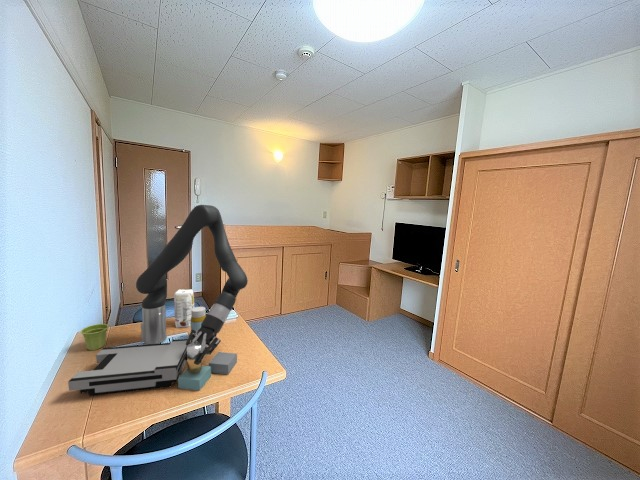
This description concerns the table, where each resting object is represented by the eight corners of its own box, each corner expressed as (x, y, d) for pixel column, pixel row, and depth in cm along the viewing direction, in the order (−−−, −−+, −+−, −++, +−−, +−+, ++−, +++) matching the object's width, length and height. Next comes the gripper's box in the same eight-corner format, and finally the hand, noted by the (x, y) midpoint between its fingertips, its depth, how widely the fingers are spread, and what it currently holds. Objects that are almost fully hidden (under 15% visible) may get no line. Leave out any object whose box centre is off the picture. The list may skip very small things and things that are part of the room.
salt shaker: (184, 372, 95) (183, 348, 94) (192, 363, 100) (191, 341, 99) (197, 373, 95) (197, 349, 93) (205, 365, 100) (204, 342, 98)
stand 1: (178, 388, 94) (178, 377, 94) (191, 374, 102) (191, 364, 102) (199, 390, 94) (199, 380, 93) (211, 376, 102) (211, 366, 101)
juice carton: (191, 327, 139) (190, 293, 137) (173, 328, 138) (172, 293, 136) (195, 321, 147) (194, 288, 144) (179, 322, 145) (178, 288, 143)
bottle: (209, 337, 130) (209, 308, 128) (196, 343, 124) (196, 313, 122) (201, 333, 134) (200, 305, 132) (188, 339, 128) (187, 309, 126)
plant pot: (111, 339, 125) (109, 322, 124) (108, 349, 117) (107, 330, 116) (84, 344, 120) (83, 326, 119) (80, 354, 112) (78, 335, 111)
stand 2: (208, 372, 104) (208, 362, 103) (218, 360, 112) (218, 351, 111) (228, 374, 103) (228, 364, 102) (236, 362, 111) (236, 353, 110)
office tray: (104, 364, 107) (103, 345, 106) (190, 356, 115) (190, 338, 113) (69, 401, 87) (67, 378, 86) (176, 388, 94) (176, 367, 93)
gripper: (197, 310, 105) (170, 353, 96) (224, 318, 99) (197, 364, 89) (208, 317, 110) (183, 359, 101) (234, 325, 104) (210, 370, 95)
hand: (190, 361), depth 95 cm, fingers closed on salt shaker, 5 cm apart
